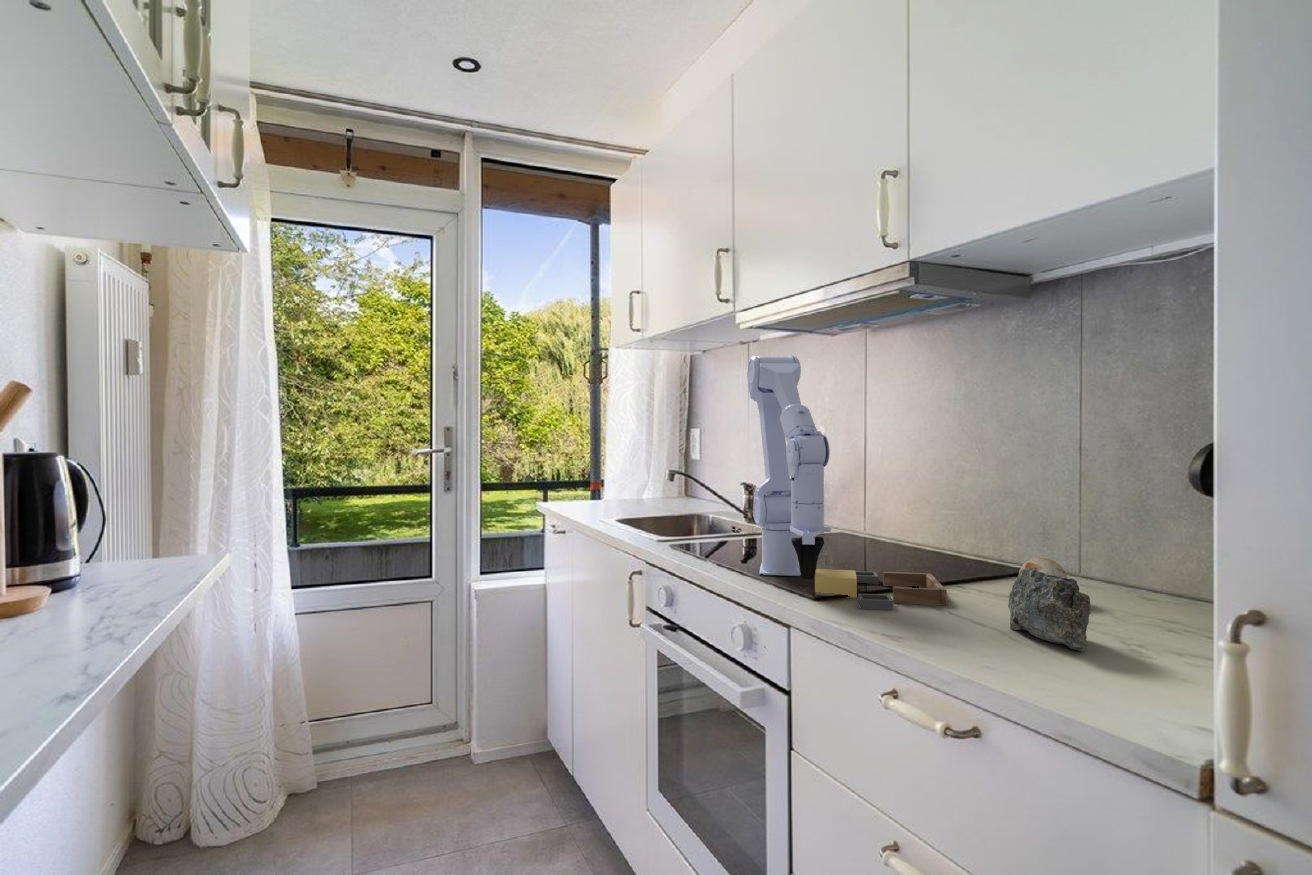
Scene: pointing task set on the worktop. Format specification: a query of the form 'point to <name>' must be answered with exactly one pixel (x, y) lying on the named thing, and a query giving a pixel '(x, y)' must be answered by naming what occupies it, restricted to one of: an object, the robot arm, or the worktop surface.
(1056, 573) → the cream rounded piece
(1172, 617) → the worktop surface
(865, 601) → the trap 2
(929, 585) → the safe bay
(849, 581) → the block
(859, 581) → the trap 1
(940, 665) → the worktop surface
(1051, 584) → the rock
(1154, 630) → the worktop surface
